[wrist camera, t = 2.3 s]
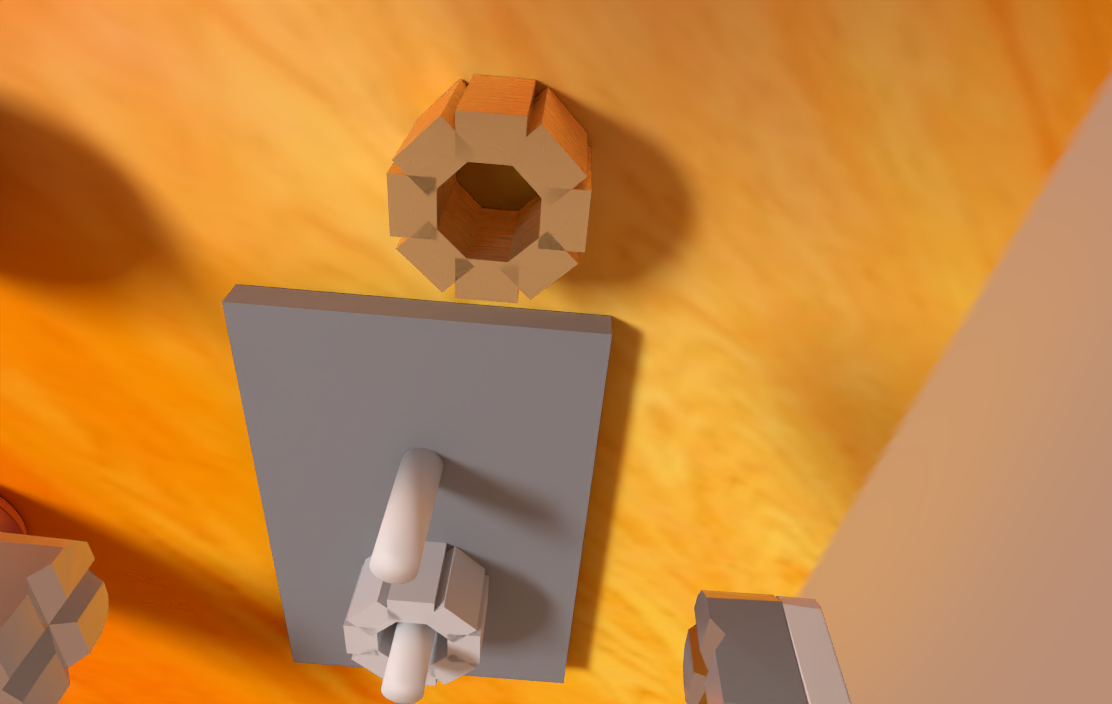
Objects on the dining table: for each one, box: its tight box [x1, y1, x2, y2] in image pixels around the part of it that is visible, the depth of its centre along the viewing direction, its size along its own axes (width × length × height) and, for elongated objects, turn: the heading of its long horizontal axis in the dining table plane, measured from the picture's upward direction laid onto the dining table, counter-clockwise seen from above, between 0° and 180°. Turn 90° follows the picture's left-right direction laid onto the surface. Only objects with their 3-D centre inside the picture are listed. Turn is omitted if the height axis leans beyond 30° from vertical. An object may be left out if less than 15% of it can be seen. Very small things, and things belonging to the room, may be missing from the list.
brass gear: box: [387, 75, 592, 303], centre depth 22 cm, size 5×5×4 cm
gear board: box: [222, 284, 612, 704], centre depth 29 cm, size 20×13×6 cm, turn 176°
